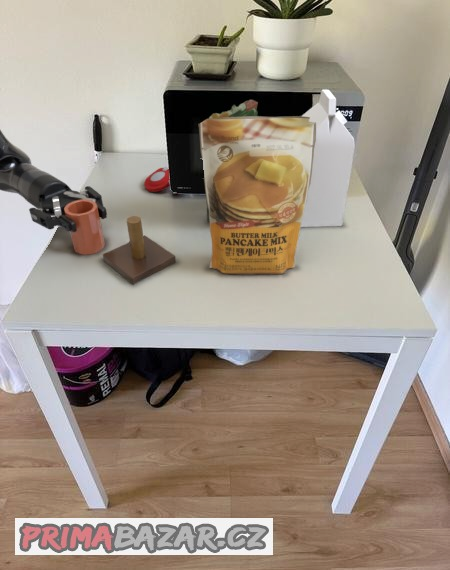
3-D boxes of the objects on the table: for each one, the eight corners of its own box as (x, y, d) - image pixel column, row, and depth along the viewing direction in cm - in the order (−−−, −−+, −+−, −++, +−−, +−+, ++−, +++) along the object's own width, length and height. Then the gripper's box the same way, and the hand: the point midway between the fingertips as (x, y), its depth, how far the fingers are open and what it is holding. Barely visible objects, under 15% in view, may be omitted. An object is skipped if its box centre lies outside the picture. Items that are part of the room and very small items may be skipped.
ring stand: (133, 284, 81) (126, 241, 75) (103, 260, 86) (94, 218, 80) (175, 262, 86) (172, 220, 80) (145, 241, 92) (140, 200, 86)
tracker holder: (135, 187, 108) (153, 162, 113) (143, 201, 111) (159, 176, 116) (178, 185, 102) (194, 159, 108) (185, 200, 105) (200, 174, 111)
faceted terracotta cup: (76, 257, 87) (66, 218, 81) (72, 241, 91) (62, 203, 85) (107, 250, 89) (99, 211, 83) (101, 235, 93) (93, 197, 87)
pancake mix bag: (202, 254, 88) (198, 111, 70) (297, 254, 88) (318, 112, 71) (201, 275, 83) (197, 126, 65) (303, 275, 83) (326, 127, 65)
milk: (281, 200, 106) (293, 85, 89) (328, 199, 106) (349, 84, 90) (290, 227, 96) (305, 104, 80) (342, 226, 97) (367, 103, 80)
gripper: (6, 187, 87) (51, 218, 78) (70, 164, 95) (118, 190, 86) (17, 220, 91) (60, 252, 83) (78, 195, 100) (123, 223, 91)
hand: (89, 220), depth 84 cm, fingers closed on faceted terracotta cup, 6 cm apart
